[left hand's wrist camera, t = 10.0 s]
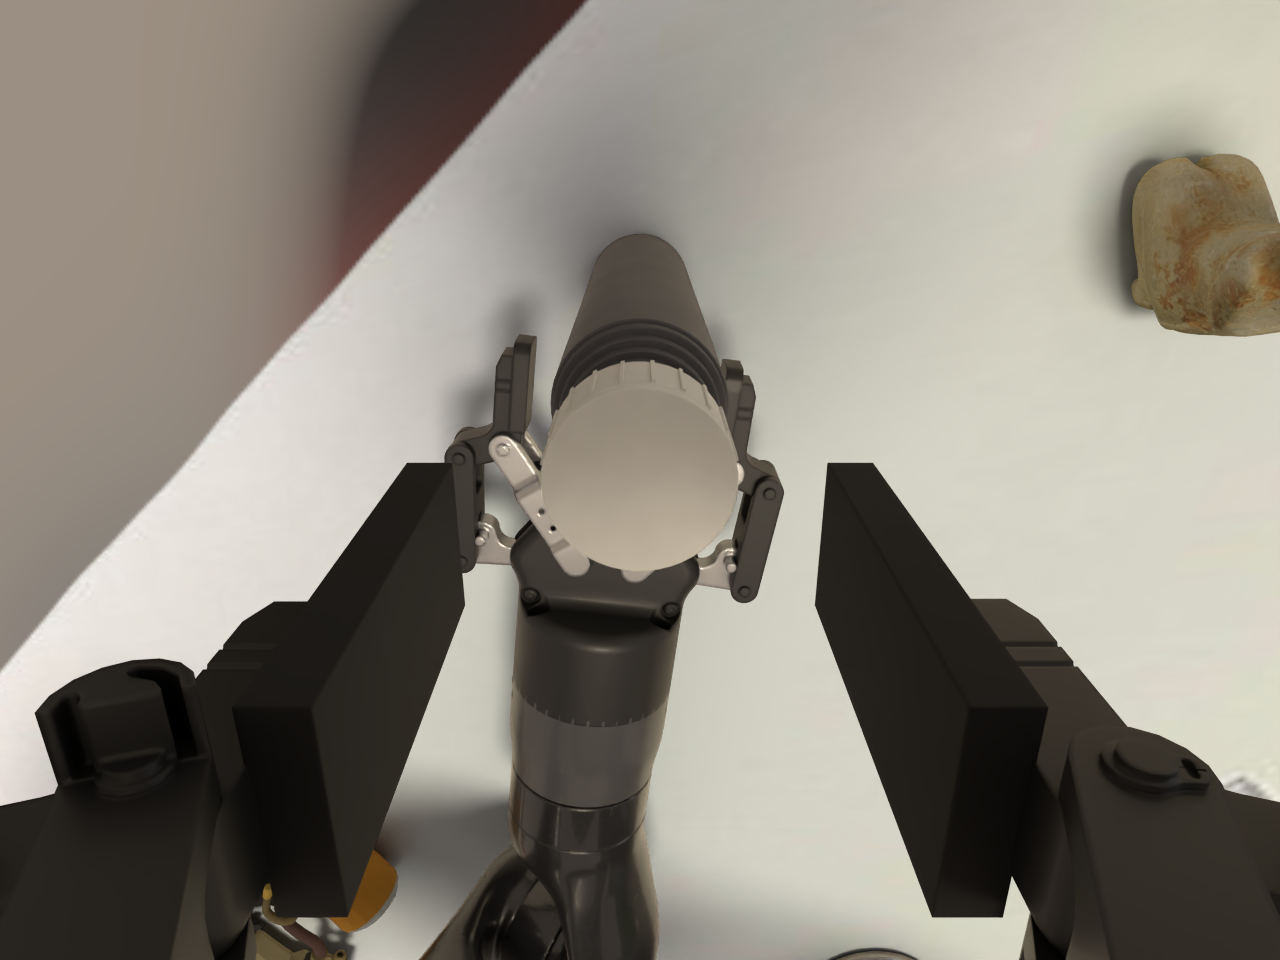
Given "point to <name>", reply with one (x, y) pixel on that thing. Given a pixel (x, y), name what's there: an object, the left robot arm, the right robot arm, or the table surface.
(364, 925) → the spray gun
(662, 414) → the cap
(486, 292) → the table surface
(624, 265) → the bottle
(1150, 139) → the table surface
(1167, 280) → the sculpture
